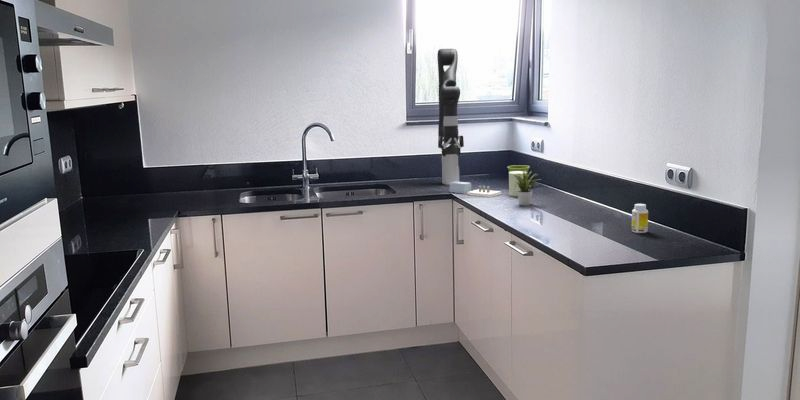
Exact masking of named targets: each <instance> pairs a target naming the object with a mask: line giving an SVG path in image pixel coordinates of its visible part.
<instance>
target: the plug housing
mask: <svg viewBox="0 0 800 400" xmlns="http://www.w3.org/2000/svg"><path fill="white" fill-rule="evenodd" d="M469 191H472V182H469V181H468V182H466V181H465V182H464V181H459V182H457V181H455V182H451V183H450V185H449V193H453V192H454V193H455V194H466V195H467V192H469Z"/></svg>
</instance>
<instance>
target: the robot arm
mask: <svg viewBox="0 0 800 400" xmlns="http://www.w3.org/2000/svg"><path fill="white" fill-rule="evenodd" d="M458 56H459V54H458V51H457V49H456V48H439V49H438V50H437V55H436V57H437V71H438V72H437V73H438V115H439V116H438V131H437V133H438V134H437V136H438V139H437V140H438V142H437V148H439V149H441V173H442V174H441V175H442V176H441V177H442V180H441V181H442V182H441V183H442V185H446V186H450V183H451V182H455V181H457V182H460V166H459V156H460V155H461V153H462V152H461V150H462V149H461V148H464V147H465V145H464V142H465V141H464V136H463V135H459V120H458V103H459V99H460V96H461V89H460V88H459V86H457V72H458V71H457V70H458V59H459V57H458ZM444 66H445V67H446V66H447V67H448V68H447V69H446V70H445V68H444Z"/></svg>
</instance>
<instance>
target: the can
mask: <svg viewBox="0 0 800 400" xmlns="http://www.w3.org/2000/svg"><path fill="white" fill-rule="evenodd" d="M518 173H519V174H520V175H521V176H520V175H519V174H518ZM525 173H526V172H525ZM517 174H518V175H519V176H520V177H522V178H523V171H512V172H509V171H508V196H509V197H517V198H518V194H517V191H518V190H521V189H520V188H519V186H518V184H516V183H513V182H518V181H519V180H517V179H516V178H515V177H514V175H516V176H517V177H518V175H517ZM518 178H519V177H518ZM522 178H521V179H522ZM527 181H528V180H527ZM527 181H526V183H527ZM522 182H523V181H522ZM518 183H519V182H518ZM515 184H516V186H517V187H515V186H514V185H515ZM519 184H520V183H519ZM514 187H515V188H514Z"/></svg>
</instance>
